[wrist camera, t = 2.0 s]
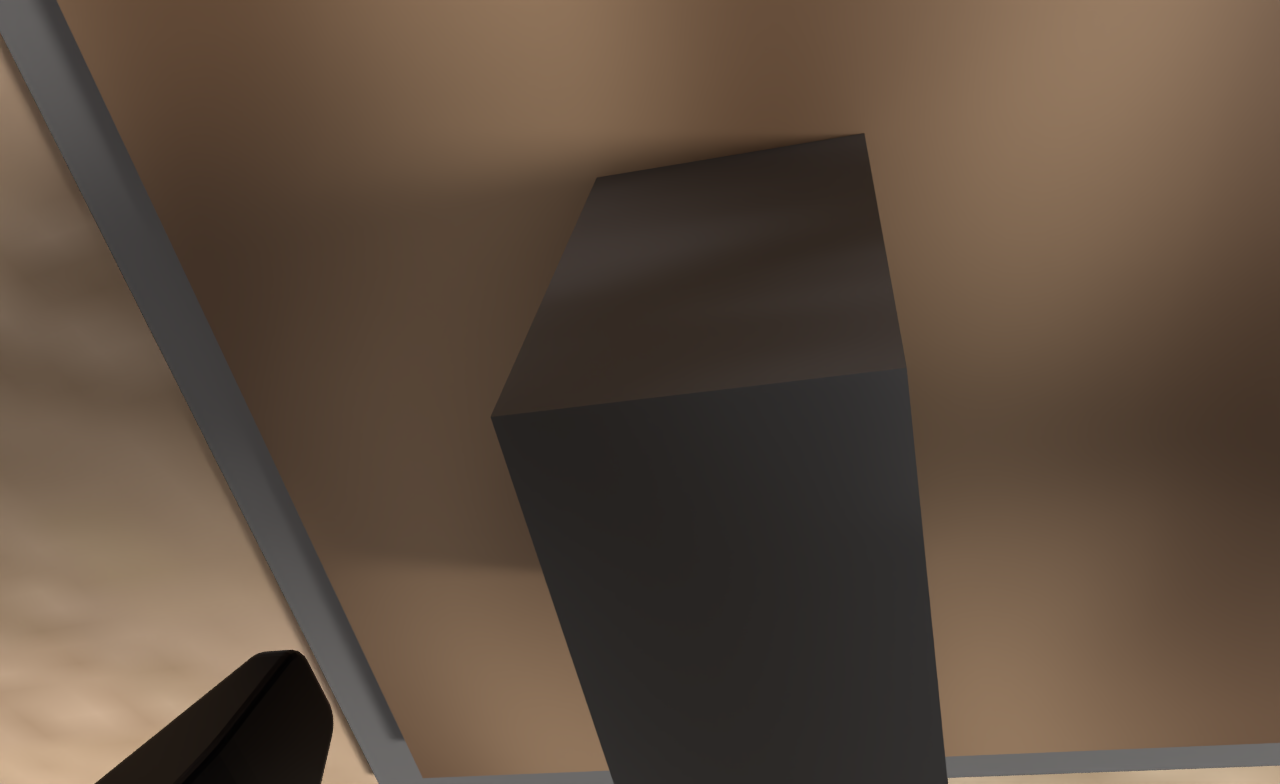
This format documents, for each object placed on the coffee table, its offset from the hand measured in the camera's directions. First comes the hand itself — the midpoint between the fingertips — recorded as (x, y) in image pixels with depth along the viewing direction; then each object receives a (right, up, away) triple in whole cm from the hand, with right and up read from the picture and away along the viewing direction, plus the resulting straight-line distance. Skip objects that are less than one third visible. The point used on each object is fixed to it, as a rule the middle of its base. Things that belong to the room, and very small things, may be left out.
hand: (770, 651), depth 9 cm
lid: (+1, +3, +5) cm, 5 cm away
